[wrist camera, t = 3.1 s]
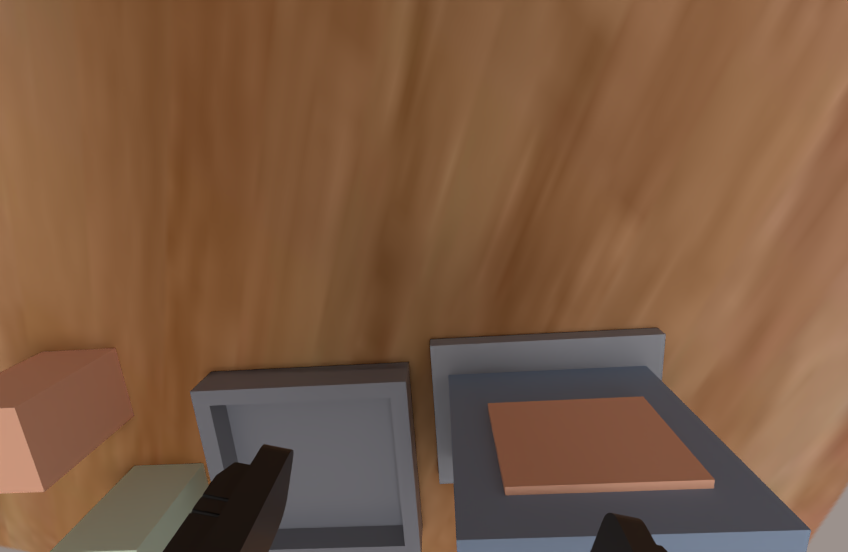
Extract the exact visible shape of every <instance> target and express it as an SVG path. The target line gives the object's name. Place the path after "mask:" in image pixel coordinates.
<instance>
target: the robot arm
mask: <svg viewBox="0 0 848 552" xmlns="http://www.w3.org/2000/svg"><path fill="white" fill-rule="evenodd" d="M293 456H294V451H293V450H292V449H287V448H282V447H277V446H272V445H266V444H263V445H262V446H261V448H260V449H259V451H258V453H257V454H256V456H255V458H254V459H253V461H252V462H251V464H250V465H249V464H243V463H238V462H234V463H233V464H231V465H230V466H229V467H227V468H226V469H224V470H223V471H221V472H220V473H219V474H217V475H216V476H215V477H214V479H213V480H212V482H211V483H210V485H209V486H208V487H207V489H206V490H205V492H204V493H203V496H202V497H200V499H199V500H198V502H197V503H196V505H195V506H194V507H193V509H192V512H191V513H189V515H188V516H187V517H186V519H185V520H184V522H183V523H182V525H181V526H180V527H179V529H178V530H177V532H176V533H175V535H174V536H173V537H172V539H171V540H170V542H169V543H168V545H167V546H166V547H165V549H164V550H163V552H269V550H270V547H271V545H272V543H273V540H274V538H275V536H276V533H277V531H278V529H279V526H280V523H281V521H282V517H283V514H284V511H285V507H286V502H287V497H288V490H289V483H290V476H291V470H292V463H293ZM590 552H667V550H666V549H665V548H664V547H663V546H661V545H656V543H655V541H654V539H653V538H652V536H651V534H650V532H649V531H648V529H647V527H646V525H645V524H644V522H643V521H642V520H641V519H639V518H635V517H630V516H625V515H620V514H615V513H607V514H606V515H605V516H604V518H603V520H602V523H601V526H600V528H599V531H598V533H597V536H596V538H595V541H594V544H593V546H592V549H591V551H590Z"/></svg>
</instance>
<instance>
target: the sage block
mask: <svg viewBox="0 0 848 552" xmlns="http://www.w3.org/2000/svg"><path fill="white" fill-rule="evenodd" d="M207 487H208V481H207V477H206V473H205V469H204V464H203V463H196V464H170V465H143V466H134V467H133V468H132V469H131V470H130V471H129V472H128V473H127V474H126V475H125V476H124V477H123V478H122V479H121V480H120V481H119V482H118V483H117V484H116V485H115V486H114V487H113V488H112V489H111V490H110V491H109V492H108V493H107V494H106V495H105V496H104V497H103V498H102V499H101V500H100V501H99V502H98V503H97V504H96V505H95V506H94V507H93V508H92V509H91V510H90V511H89V512H88V513H87V514H86V515H85V517H84V518H83V519H82V520H81V521H80V522H79V523H78V524H77V525H76V526H75V527H74V528H73V529H72V530H71V531H70V532H69V533H68V534H67V535H66V536H65V537H64V538H63V539H62V540H61V541H60V542H59V543H58V544H57V545H56V546H55V547H54V548H53V549H52V550H51V551H50V552H163V550H164V549H165V547H166V546H167V545H168V543H169V542H170V540H171V539H172V537H173V536H174V535H175V533H176V532H177V530H178V529H179V527H180V526H181V525H182V523H183V522H184V520H185V519H186V517H187V516H188V515H189V513H191V512H192V509H193V507H194V506H195V505H196V503H197V502H198V500H199V499H200V497H202V496H203V493H204V492H205V490H206V489H207Z"/></svg>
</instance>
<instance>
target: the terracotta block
mask: <svg viewBox="0 0 848 552" xmlns="http://www.w3.org/2000/svg"><path fill="white" fill-rule="evenodd" d="M133 416H134V413H133V409H132V406H131V402H130V399H129V395H128V391H127V388H126V384H125V381H124V377H123V373H122V370H121V366H120V363H119V359H118V355H117V352H116V348H106V349H87V350H67V351H48V352H41V353H39V354H37V355H35V356H32V357H30V358H28V359H26V360H24V361H22V362H20V363H18V364H16V365H14V366H12V367H10V368H8V369H6V370H4V371H2V372H0V493H23V492H45V491H46V490H47V489H48V488H49V487H51V486H52V485H53V484H54V483H55V482H56V481H58V480H59V479H60V478H61V477H62V476H64V475H65V474H66V473H67V472H68V471H69V470H71V469H72V468H73V467H74V466H75V465H76V464H78V463H79V462H80V461H81V460H82V459H84V458H85V457H86V456H87V455H88V454H89V453H91V452H92V451H93V450H94V449H95V448H97V447H98V446H99V445H100V444H101V443H102V442H104V441H105V440H106V439H107V438H108V437H109V436H111V435H112V434H113V433H114V432H115V431H117V430H118V429H119V428H120V427H121V426H122V425H124V424H125V423H126V422H127V421H128V420H129V419H131V418H132V417H133Z"/></svg>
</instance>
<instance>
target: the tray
mask: <svg viewBox="0 0 848 552" xmlns="http://www.w3.org/2000/svg"><path fill="white" fill-rule="evenodd" d="M190 394H191V398H192V403H193V407H194V411H195V415H196V420H197V424H198V428H199V432H200V437H201V441H202V445H203V450H204V454H205V458H206V462H207V467H208V471H209V475H210V479H211V482H212V480H213V479H214V477H215V476H216V475H217V474H219V473H220V472H221V471H223V470H224V469H226V468H227V467H229V466H230V465H231V464H233V463H234V462H238V463H243V464H249V465H250V464H251V462H252V461H253V459H254V458H255V456H256V454H257V453H258V451H259V449H260V448H261V446H262V445H263V444H266V445H272V446H277V447H282V448H287V449H292V450H293V451H294V456H293V463H292V470H291V476H290V483H289V490H288V497H287V502H286V507H285V511H284V514H283V517H282V521H281V523H280V526H279V529H278V531H277V533H276V536H275V538H274V540H273V543H272V545H271V547H270V550H269V552H421V550H422V515H421V504H420V492H419V480H418V468H417V456H416V445H415V433H414V421H413V409H412V398H411V386H410V374H409V362H403V363H382V364H361V365H341V366H320V367H300V368H279V369H259V370H238V371H218V372H210V373H209V374H208V375H207V376H206V377H205V378H204V379H203V380H202V381H201V382H200V383H199V384H198V385H197V386H195V387H194V388H193V389H192V390H191V391H190Z"/></svg>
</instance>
